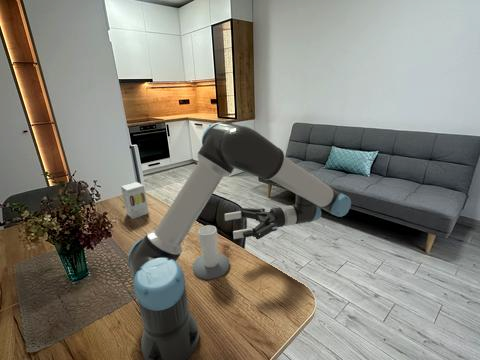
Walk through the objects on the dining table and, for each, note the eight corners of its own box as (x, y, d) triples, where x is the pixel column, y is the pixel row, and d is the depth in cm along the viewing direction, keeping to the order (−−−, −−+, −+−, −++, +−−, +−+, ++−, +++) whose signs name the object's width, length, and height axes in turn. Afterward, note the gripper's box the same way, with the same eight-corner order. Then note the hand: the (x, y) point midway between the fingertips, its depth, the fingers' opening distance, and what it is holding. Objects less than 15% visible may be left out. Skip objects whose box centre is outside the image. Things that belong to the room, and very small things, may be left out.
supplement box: (132, 219, 137) (125, 190, 131) (126, 213, 143) (119, 186, 137) (149, 213, 143) (144, 185, 137) (142, 208, 149) (137, 181, 143)
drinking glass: (217, 256, 102) (213, 223, 97) (222, 266, 96) (219, 232, 91) (200, 261, 100) (196, 227, 95) (204, 271, 94) (200, 236, 89)
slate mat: (236, 269, 96) (235, 267, 95) (201, 285, 89) (201, 282, 89) (219, 250, 107) (219, 248, 107) (187, 263, 101) (187, 260, 100)
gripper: (296, 242, 89) (238, 254, 84) (269, 211, 112) (222, 219, 107) (297, 223, 87) (237, 234, 82) (270, 195, 109) (221, 202, 104)
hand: (228, 225), depth 94 cm, fingers open, 13 cm apart
